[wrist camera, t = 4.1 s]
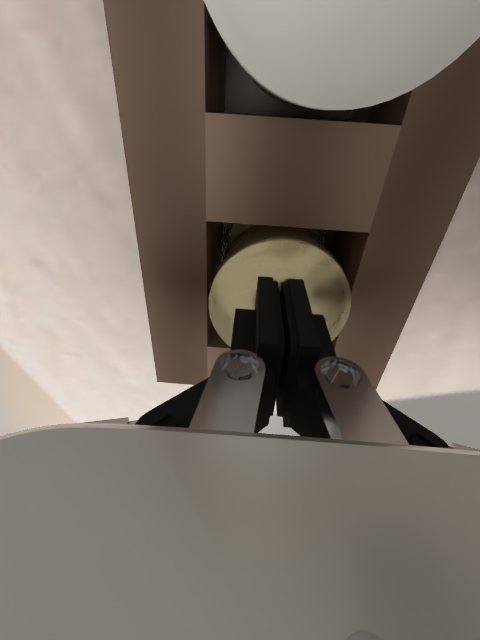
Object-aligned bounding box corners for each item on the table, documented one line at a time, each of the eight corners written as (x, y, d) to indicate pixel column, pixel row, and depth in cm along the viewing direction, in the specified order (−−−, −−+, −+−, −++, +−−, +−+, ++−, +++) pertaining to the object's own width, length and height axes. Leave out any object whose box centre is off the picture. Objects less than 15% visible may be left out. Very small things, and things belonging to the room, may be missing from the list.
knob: (331, 200, 15) (370, 247, 10) (311, 293, 18) (332, 366, 13) (225, 193, 16) (208, 235, 10) (223, 286, 19) (208, 357, 13)
